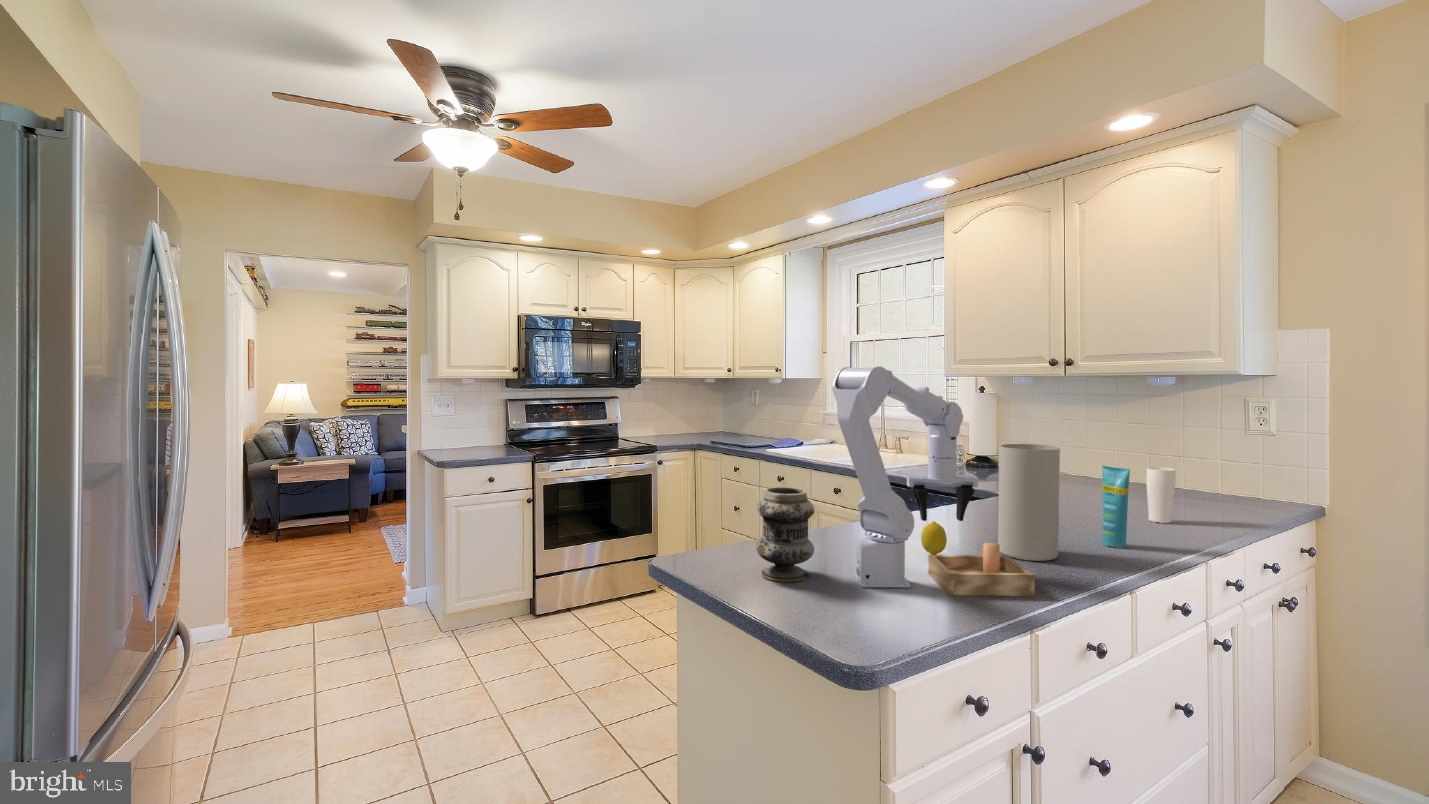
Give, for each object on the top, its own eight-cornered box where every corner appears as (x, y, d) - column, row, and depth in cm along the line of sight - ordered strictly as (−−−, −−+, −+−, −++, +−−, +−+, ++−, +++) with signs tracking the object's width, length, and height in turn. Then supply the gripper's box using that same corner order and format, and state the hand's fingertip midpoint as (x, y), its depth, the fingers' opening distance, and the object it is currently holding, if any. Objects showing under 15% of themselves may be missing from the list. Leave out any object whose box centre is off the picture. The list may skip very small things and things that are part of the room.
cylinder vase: (1017, 544, 158) (1018, 442, 157) (1068, 556, 148) (1070, 447, 147) (986, 552, 151) (988, 446, 150) (1039, 565, 141) (1040, 451, 140)
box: (948, 595, 122) (948, 574, 122) (928, 573, 135) (928, 555, 135) (1034, 595, 121) (1034, 574, 121) (1006, 574, 134) (1006, 555, 134)
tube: (1093, 543, 159) (1094, 465, 158) (1106, 541, 161) (1108, 464, 160) (1122, 550, 152) (1124, 469, 151) (1136, 548, 154) (1138, 468, 153)
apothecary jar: (809, 586, 127) (809, 496, 127) (750, 581, 131) (749, 493, 130) (818, 569, 139) (818, 486, 138) (763, 564, 143) (763, 483, 142)
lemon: (948, 560, 145) (948, 524, 145) (922, 558, 146) (922, 523, 146) (944, 553, 151) (944, 519, 150) (919, 552, 152) (920, 518, 151)
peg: (985, 586, 127) (986, 546, 127) (981, 581, 130) (981, 542, 130) (1001, 586, 127) (1001, 546, 126) (996, 582, 130) (996, 542, 129)
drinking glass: (1173, 520, 182) (1174, 468, 182) (1175, 525, 176) (1176, 471, 176) (1144, 518, 186) (1146, 466, 185) (1145, 522, 180) (1146, 469, 179)
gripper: (970, 454, 142) (969, 515, 143) (903, 454, 143) (903, 515, 143) (981, 458, 135) (981, 523, 136) (911, 458, 136) (911, 522, 136)
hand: (941, 519), depth 139 cm, fingers open, 7 cm apart
